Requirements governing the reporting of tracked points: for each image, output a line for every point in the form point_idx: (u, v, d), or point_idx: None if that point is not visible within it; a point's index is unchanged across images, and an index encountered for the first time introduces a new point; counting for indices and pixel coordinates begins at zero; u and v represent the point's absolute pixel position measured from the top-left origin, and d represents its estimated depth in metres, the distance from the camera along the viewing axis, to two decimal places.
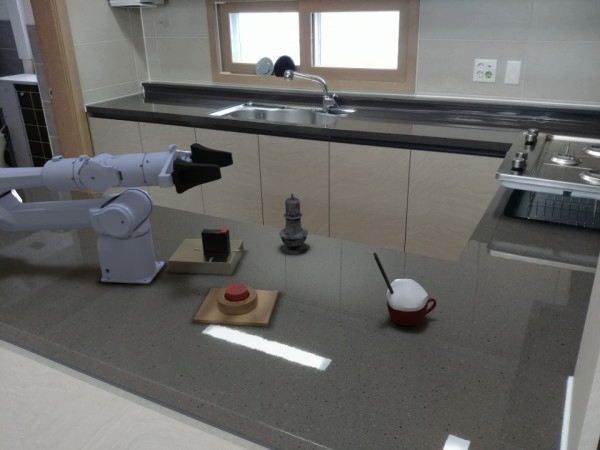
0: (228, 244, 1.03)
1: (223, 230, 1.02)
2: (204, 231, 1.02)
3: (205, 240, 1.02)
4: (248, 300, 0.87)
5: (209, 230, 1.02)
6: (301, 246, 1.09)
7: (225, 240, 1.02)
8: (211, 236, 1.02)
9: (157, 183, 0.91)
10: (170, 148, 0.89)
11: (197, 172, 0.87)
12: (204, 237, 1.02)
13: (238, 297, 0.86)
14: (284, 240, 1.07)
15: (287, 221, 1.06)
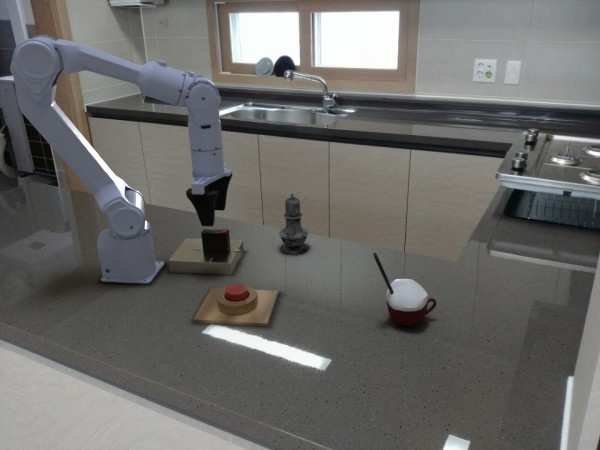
0: (228, 244, 1.03)
1: (223, 230, 1.02)
2: (204, 231, 1.02)
3: (205, 240, 1.02)
4: (248, 300, 0.87)
5: (209, 230, 1.02)
6: (301, 246, 1.09)
7: (225, 240, 1.02)
8: (211, 236, 1.02)
9: (193, 159, 0.95)
10: (227, 174, 0.96)
11: (206, 208, 0.96)
12: (204, 237, 1.02)
13: (238, 297, 0.86)
14: (284, 240, 1.07)
15: (287, 221, 1.06)
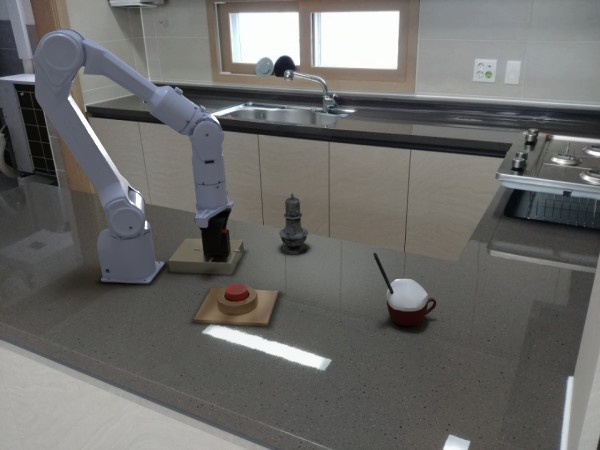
0: (228, 244, 1.03)
1: (223, 230, 1.02)
2: None
3: (205, 240, 1.02)
4: (248, 300, 0.87)
5: None
6: (301, 246, 1.09)
7: (225, 240, 1.02)
8: None
9: (197, 192, 0.97)
10: (230, 206, 0.99)
11: (214, 233, 1.01)
12: None
13: (238, 297, 0.86)
14: (284, 240, 1.07)
15: (287, 221, 1.06)
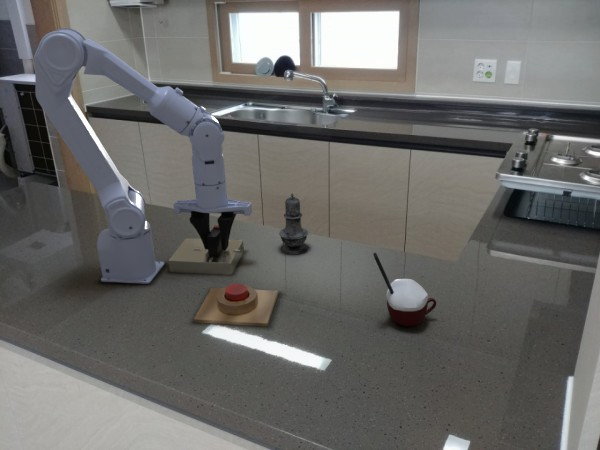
0: None
1: (217, 226, 1.04)
2: (213, 235, 1.00)
3: (217, 242, 1.01)
4: (248, 300, 0.87)
5: (212, 233, 1.01)
6: (301, 246, 1.09)
7: None
8: (219, 235, 1.02)
9: (219, 193, 0.97)
10: None
11: None
12: (217, 240, 1.01)
13: (238, 297, 0.86)
14: (284, 240, 1.07)
15: (287, 221, 1.06)
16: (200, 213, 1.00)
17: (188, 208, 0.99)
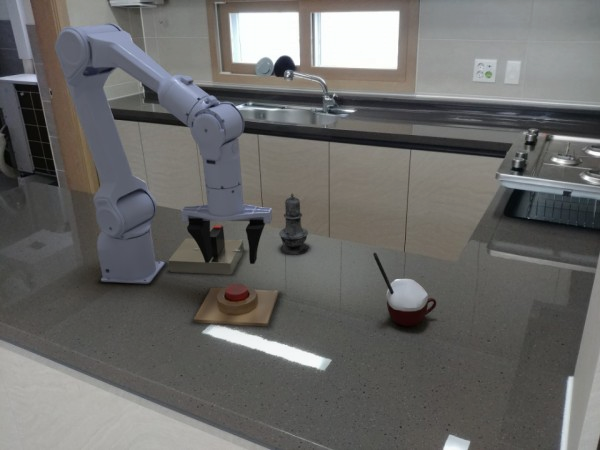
0: None
1: (217, 226, 1.04)
2: (213, 235, 1.00)
3: (217, 242, 1.01)
4: (248, 300, 0.87)
5: (212, 233, 1.01)
6: (301, 246, 1.09)
7: (223, 233, 1.05)
8: (219, 235, 1.02)
9: (234, 198, 0.83)
10: None
11: None
12: (217, 240, 1.01)
13: (238, 297, 0.86)
14: (284, 240, 1.07)
15: (287, 221, 1.06)
16: None
17: (198, 215, 0.85)
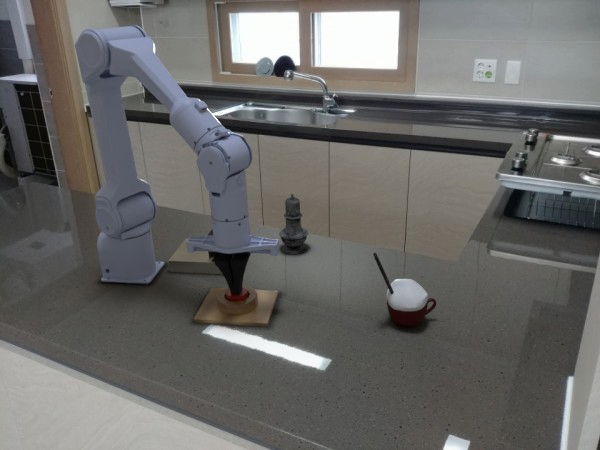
0: None
1: None
2: None
3: None
4: (248, 300, 0.87)
5: (212, 233, 1.01)
6: (301, 246, 1.09)
7: None
8: None
9: (241, 230, 0.81)
10: None
11: None
12: None
13: (238, 299, 0.87)
14: (284, 240, 1.07)
15: (287, 221, 1.06)
16: (218, 252, 0.85)
17: (204, 247, 0.83)
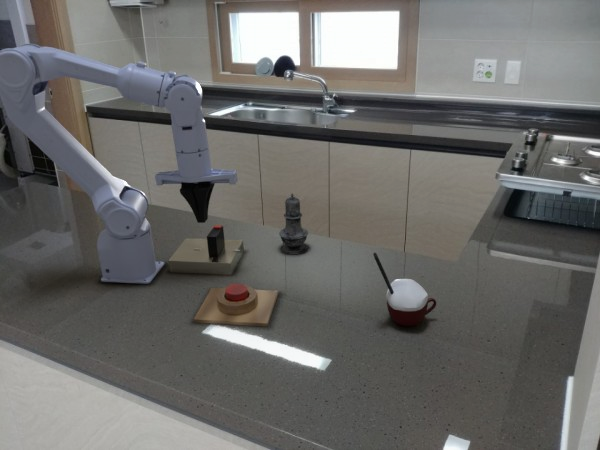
0: None
1: (217, 226, 1.04)
2: (213, 235, 1.00)
3: (217, 242, 1.01)
4: (248, 300, 0.87)
5: (212, 233, 1.01)
6: (301, 246, 1.09)
7: (223, 233, 1.05)
8: (219, 235, 1.02)
9: (201, 161, 0.92)
10: None
11: None
12: (217, 240, 1.01)
13: (238, 297, 0.86)
14: (284, 240, 1.07)
15: (287, 221, 1.06)
16: (183, 184, 0.95)
17: (170, 179, 0.94)
